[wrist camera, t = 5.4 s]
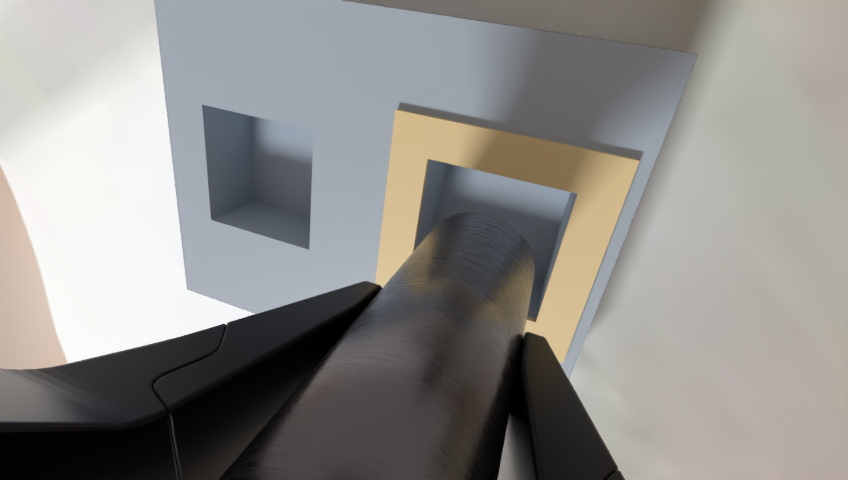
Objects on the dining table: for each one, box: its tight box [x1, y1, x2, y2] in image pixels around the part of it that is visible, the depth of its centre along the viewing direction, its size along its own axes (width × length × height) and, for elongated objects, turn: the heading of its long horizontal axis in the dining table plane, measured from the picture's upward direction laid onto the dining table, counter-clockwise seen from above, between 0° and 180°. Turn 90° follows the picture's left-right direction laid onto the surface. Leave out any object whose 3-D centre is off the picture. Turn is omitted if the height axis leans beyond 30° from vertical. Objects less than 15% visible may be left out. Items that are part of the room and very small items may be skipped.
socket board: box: [154, 0, 698, 379], centre depth 15 cm, size 16×12×3 cm
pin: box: [219, 212, 535, 480], centre depth 7 cm, size 3×3×10 cm
